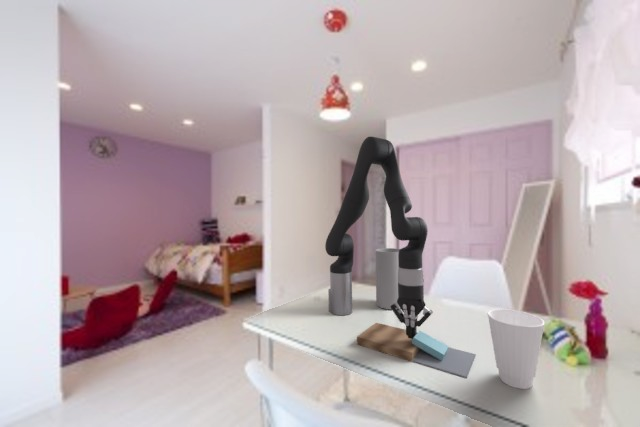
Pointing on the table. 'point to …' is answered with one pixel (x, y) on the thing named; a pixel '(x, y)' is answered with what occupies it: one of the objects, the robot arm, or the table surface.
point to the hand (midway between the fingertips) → (411, 337)
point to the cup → (516, 345)
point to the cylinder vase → (387, 277)
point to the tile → (430, 345)
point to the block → (388, 341)
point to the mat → (448, 361)
